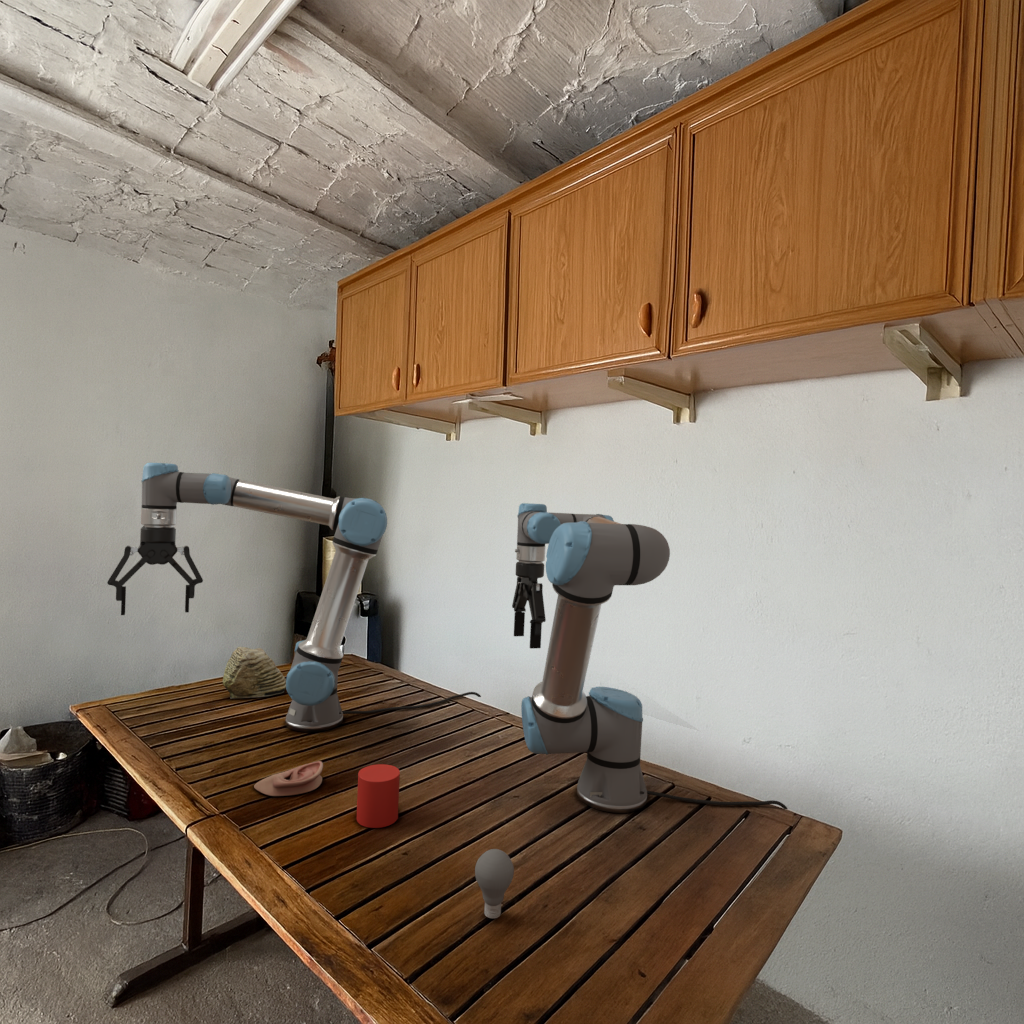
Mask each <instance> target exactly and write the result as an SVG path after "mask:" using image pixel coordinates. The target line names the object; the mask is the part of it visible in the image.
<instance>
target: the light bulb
mask: <svg viewBox="0 0 1024 1024" xmlns="http://www.w3.org/2000/svg"><path fill="white" fill-rule="evenodd" d="M514 874H515V867H514V863H513V861H512V859H511V857H510V856H509V855H508V854H507V853H506V852H505V851H503V850H501V849H498V848H491V849H487V850H486V851H484V852H483V853H482V854H481V855H480V856H479V857H478V859H477V861H476V863H475V867H474V876H475V880H476V882H477V884H478V886H479V888H480V890H481V893H482V899H483V901H484V910H483V911H484V912H483V914H484V916H485V917H487V918H489V919H498V918H499V917H501V914H502V903H503V901H504V898H505V893H506V891H507V890H508V888H509V887H510V885H511V883H512V882H513V879H514V876H515V875H514Z"/></svg>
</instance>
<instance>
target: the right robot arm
mask: <svg viewBox="0 0 1024 1024" xmlns="http://www.w3.org/2000/svg"><path fill="white" fill-rule="evenodd" d="M516 535H517V536H516V548H515V549H514V552H515V554H516V557H515V558H516V560H517V562H515V576H516V586H515V589H514V590H515V591H514V595H513V600H512V603H511V607H512V609H513V611H514V621H513V637H525V622H526V621H525V620H526V612H527V609H526V606H527V603H528V606H529V611H530V616H531V619H530V621H529V624H530V630H529V649H541V648H542V630H543V629H542V626H543V623H545V622H546V621H547V619H546V610H545V603H544V594H543V593H544V592H543V589H544V588H543V587H544V586H543V583H541V582H540V583H538V579H541V578H544V577H545V574H546V577H547V580H548V582H550V584H551V585H552V589H553V591H554V592H555V594H557V597H556V598H557V599H556V604H555V609H554V616H553V621H552V626H551V631H550V636H549V641H548V648H547V654H546V659H545V664H544V671H543V675H542V681H540V682H539V683H537V684H536V685H535V686H534V688H533V691H532V696H525V697H523V698H522V700H521V709H520V711H521V722H522V730H523V736H524V741H525V744H526V747H527V749H528V751H529V752H531V753H532V754H535V755H537V754H539V755H556V754H558V755H559V754H560V755H561V754H578V753H579V754H580V753H586V761H585V762H584V764H583V768H582V771H581V772H580V776H579V778H578V781H577V784H576V785H577V786H576V795H577V798H578V799H579V800H580V802H582V803H584V804H585V805H587V806H588V807H591V808H592V809H595V810H599V811H602V812H606V813H613V814H614V813H616V814H624V813H625V814H627V813H632V812H637V811H639V810H641V809H643V808H644V807H645V806H646V805H647V804H648V795H649V796H655V797H661V798H665V799H670V800H675V801H680V802H686V803H687V802H688V803H694V804H703V805H714V806H766V805H778V806H779V807H781V808H782V809H783V810H788V809H789V808H788V807H787V805H785V803H783V802H781V801H778V800H774V799H773V800H763V801H762V800H761V801H749V800H748V801H747V800H745V801H717V800H708V799H707V800H705V799H698V798H690V797H683V796H677V795H673V794H667V793H664V792H663V793H662V792H657V791H652V790H648V789H647V785H646V782H645V778H644V773H643V770H642V766H641V755H642V754H641V752H642V736H643V735H642V734H643V722H644V717H643V703H642V701H641V699H640V698H638V696H637V695H634V694H633V693H631V692H628V691H626V690H622V689H619V688H615V687H609V686H595V687H594V686H593V687H591V688H590V690H589V692H588V695H586V693H585V692H584V686H585V682H586V677H587V673H588V668H589V663H590V660H591V654H592V650H593V644H594V640H595V635H596V631H597V626H598V622H599V617H600V613H601V609H602V605H604V604H605V603H607V602H608V601H610V600H611V598H612V596H613V591H614V587H615V586H640V585H643V584H647V583H650V582H652V581H654V580H655V579H657V578H658V577H660V576H661V575H662V574H663V572H664V571H665V570H666V568H667V566H668V565H669V562H670V556H671V550H670V545H669V542H668V540H667V538H666V537H665V535H663V533H661V532H660V531H659V530H657V529H656V528H653V527H650V526H647V525H642V524H635V523H628V524H627V523H620V522H618V521H615V520H614V518H613V517H612V516H611V515H609V514H608V515H607V514H602V513H596V514H594V513H569V512H567V513H566V512H549V511H548V507H547V505H546V504H544V503H528V502H527V503H526V502H523V503H520V504H519V506H518V514H517V534H516ZM546 545H548V546H547V550H546ZM544 562H545V563H544Z"/></svg>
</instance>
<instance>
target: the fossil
mask: <svg viewBox="0 0 1024 1024" xmlns="http://www.w3.org/2000/svg"><path fill="white" fill-rule="evenodd" d="M222 676H223V677H222V685H223V687H224V688H225V690H226V691H228V693H229V698H230V699H250V698H264V697H271V696H275V695H281V694H284V693H285V691H287V689H286V677H285V676H284V674H283V673H282V672H281V669H279V668H278V667H277V665H276V663H275V662H274V660H273V659H272V658H271V657H270V656H269V655H268V654H267V653H266V652H265V650H264V649H263V648H260V647H258V648H251V647H247V646H246V647H245V646H238V647H237V648H236V649H235V650H233V651H232V653H231V656H230V657H229V659H228V660H227V663H226V666H225V668H224V671H223V675H222Z"/></svg>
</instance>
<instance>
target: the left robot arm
mask: <svg viewBox="0 0 1024 1024" xmlns="http://www.w3.org/2000/svg"><path fill="white" fill-rule="evenodd" d="M141 479H142V480H141V507H140V511H141V512H140V513H141V514H140V524H141V525H142V526H141V528H140V533H139V534H140V536H139V537H140V538H139V546H131V545H126V546H125V547H124V552H123V555H122V556H121V559H120V560H119V563H117V566H116V567H115V569H114V570H113V572H112V574H111V575H110V577H109V578H108V580H107V585H108V586H113V587H115V600H116V602H120V604H121V605H120V616H125V615H126V601H127V599H126V598H127V586H126V585H125V584H126V583H127V582H128V581H129V580H130V579H131V578H132V577H133V576H134V575H135V574H136V573H137V572H138V571H139V570H140V569H141V568H142V567H143V566H145V564H148V565H150V566H151V565H152V566H153V565H161V566H163V565H166V564H169V565H170V566H171V567H172V568H174V570H175V571H176V572H177V573H178V574H179V575H180V576H181V577H182V578H183V579H184V580H185V581H186V583H187V584H185V594H184V595H185V600H184V601H185V602H184V612H185V613H189V612H190V599H194V598H195V589H196V585H199V584H202V583H203V582H204V579H203V577H202V575H201V573H200V571H199V569H198V568H197V565H196V564H195V562H194V559H193V558H192V556H191V552H190V547H189V546H188V545H184V546H177V545H176V538H177V537H176V536H177V529H176V527H175V525H177V505H178V503H180V504H183V503H184V504H185V503H186V504H198V505H199V504H203V505H212V506H214V505H223V506H227V507H228V506H229V507H235V508H240V509H244V510H250V511H254V512H260V513H263V514H268V515H274V516H280V517H284V518H288V519H293V520H294V519H295V520H300V521H303V522H304V521H305V522H309V523H315V524H320V525H324V526H328V527H329V528H330V529H331V531H334V532H335V533H334V535H333V538H332V540H331V541H332V542H331V543H332V545H333V547H334V549H335V551H334V555H333V557H332V560H331V564H330V567H329V569H328V574H327V576H326V580H325V582H324V584H323V588H322V591H321V595H320V597H319V601H318V604H317V607H316V610H315V613H314V616H313V619H312V622H311V625H310V628H309V631H308V634H307V637H306V639H303V640H299V641H297V642H296V643H295V648H294V650H293V651H294V657H293V660H292V664H291V667H290V669H289V670H288V672H287V674H286V677H285V680H286V692H287V694H288V696H289V697H290V699H291V702H290V704H289V708H288V711H287V713H286V715H285V726H286V728H287V729H289V730H291V731H294V732H295V731H296V732H301V733H316V732H325V731H329V730H332V729H335V728H337V727H339V726H340V725H342V723H343V722H344V715H368V714H376V713H383V712H387V711H388V712H389V711H398V710H399V711H400V710H416V709H422V708H428V707H433V706H437V705H440V704H443V703H446V702H448V701H451V700H454V699H458V698H462V697H466V696H469V695H473V696H476V697H478V698H481V697H482V695H481V694H480V693H478V692H476V691H468V692H464V693H460V694H456V695H452V696H449V697H446V698H444V699H441V700H438V701H434V702H430V703H425V704H420V705H419V704H418V705H409V706H408V705H406V706H390V707H385V708H384V707H383V708H379V709H371V710H343V709H342V706H341V702H340V699H339V695H338V682H339V681H338V680H339V678H338V677H339V671H340V669H341V664H342V661H343V659H344V653H343V651H342V650H341V645H342V642H343V640H344V636H345V633H346V630H347V626H348V624H349V621H350V617H351V615H352V612H353V609H354V605H355V602H356V600H357V596H358V593H359V589H360V587H361V584H362V582H363V581H362V580H363V578H364V575H365V571H366V569H367V566H368V562H369V560H371V559H372V558H374V557H376V556H377V554H378V551H379V547H380V545H381V541H382V538H383V537H384V534H385V532H386V529H387V527H388V517H387V516H388V515H387V513H386V511H385V509H384V507H383V506H382V505H381V504H380V503H379V502H378V501H376V500H374V499H372V498H367V497H358V498H357V497H356V498H354V497H345V496H341V495H339V496H336V497H335V498H333V497H327V496H323V495H318V494H314V493H313V494H312V493H308V492H303V491H299V490H295V489H290V488H289V489H288V488H284V487H279V486H276V485H275V486H274V485H270V484H264V483H259V482H255V481H249V480H245V479H239V478H235V477H230V476H229V475H227V474H221V473H214V472H213V473H210V472H209V473H206V472H205V473H204V472H182V471H180V470H179V467H178V465H177V464H176V463H168V462H166V463H164V462H147V463H145V464H144V465H143V469H142V478H141ZM135 553H138V555H139V556H140V559H139V560H138V561H137V562H136V563H135V564H134V565H133V566H132V567H131V568H130V569H128V571H127V572H126V573H125V574H124V575H123V576H122V577H121V578H120V579H119V580H116V579H117V578H118V577H119V575H120V574H121V571H122V570H123V568H124V566H125V565H126V564H127V562H128V561H129V558H130V556H134V555H135ZM177 553H180V555H181V556H184V558H185V561H186V562H187V564H188V566H189V568H190V570H191V572H192V573H193V575H194V577H195V578H192V577H191V576H190V575H189V573H187V572H186V570H185V569H184V568H183V567H182V566H181V565H180V564H179V563H178V561H176V560H175V559H174V557H175V556H176V555H177ZM124 585H125V586H124Z"/></svg>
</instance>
